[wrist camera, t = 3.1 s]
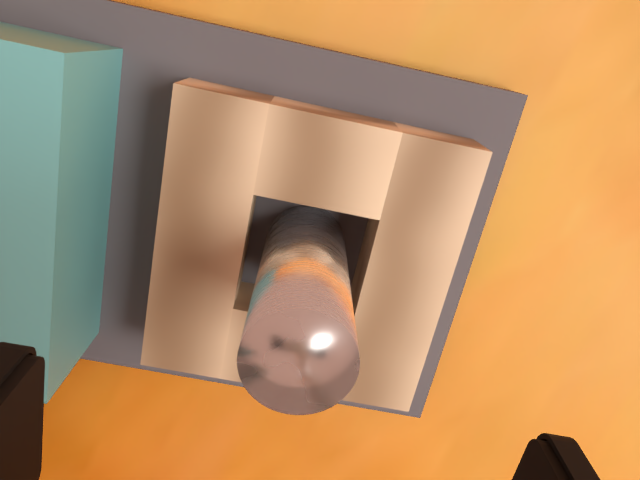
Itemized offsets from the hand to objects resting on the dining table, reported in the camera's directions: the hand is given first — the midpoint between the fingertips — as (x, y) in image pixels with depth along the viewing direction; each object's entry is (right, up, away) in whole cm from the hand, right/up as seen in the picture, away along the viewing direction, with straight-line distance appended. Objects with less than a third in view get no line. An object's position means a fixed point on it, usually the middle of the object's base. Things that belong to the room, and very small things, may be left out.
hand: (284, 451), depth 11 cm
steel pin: (0, +4, +12) cm, 13 cm away
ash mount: (0, +4, +12) cm, 13 cm away
